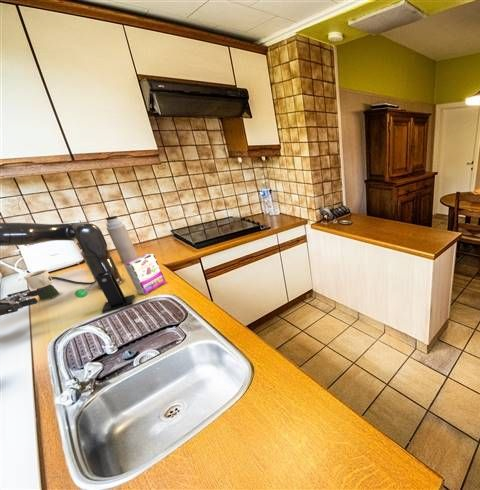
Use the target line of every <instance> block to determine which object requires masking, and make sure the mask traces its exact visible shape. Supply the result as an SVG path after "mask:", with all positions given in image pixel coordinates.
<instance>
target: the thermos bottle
mask: <svg viewBox="0 0 480 490" xmlns="http://www.w3.org/2000/svg"><path fill="white" fill-rule="evenodd" d="M105 220H106V231H107V233H108V235H109V237H110V239H111V241H112V243H113V245H114V247H115V250H116V252H117V254H118V256H119V258H120V260H121V262H122V264H125V263H127V262H129V261H131V260H133V259H136V258H138V257H139V255H138V253H137V250H136V248H135V246H134V244H133V242H132V239H131V237H130V235H129V232H128V230H127V227H126V226H125V224H123V222H122V221H121V220H119V219H118V215H117V216H115V215H114V216H113V215H112V216H108V217H106V218H105Z"/></svg>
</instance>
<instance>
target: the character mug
mask: <svg viewBox="0 0 480 490" xmlns="http://www.w3.org/2000/svg"><path fill="white" fill-rule="evenodd" d="M23 277H24V279H25V281H26V283H27V284H28V286H29V287H30V288H31V289H32V290H38V289H42V288H44V289H45V291H46V293H45V294H42V295H38V299H39V300H41V301H43V300H48V299H52V298H54V297H57V296H58V295H59V294H60V292H59V291H58V290H57V288H56V287H55V286H54V285H53V283H54V280H53V278H51V277H52V276H51V275H50V273H49V271H48V270H46V269H43V270H38V271H34V272H30V273H28V274H26V275H24V276H23Z"/></svg>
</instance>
